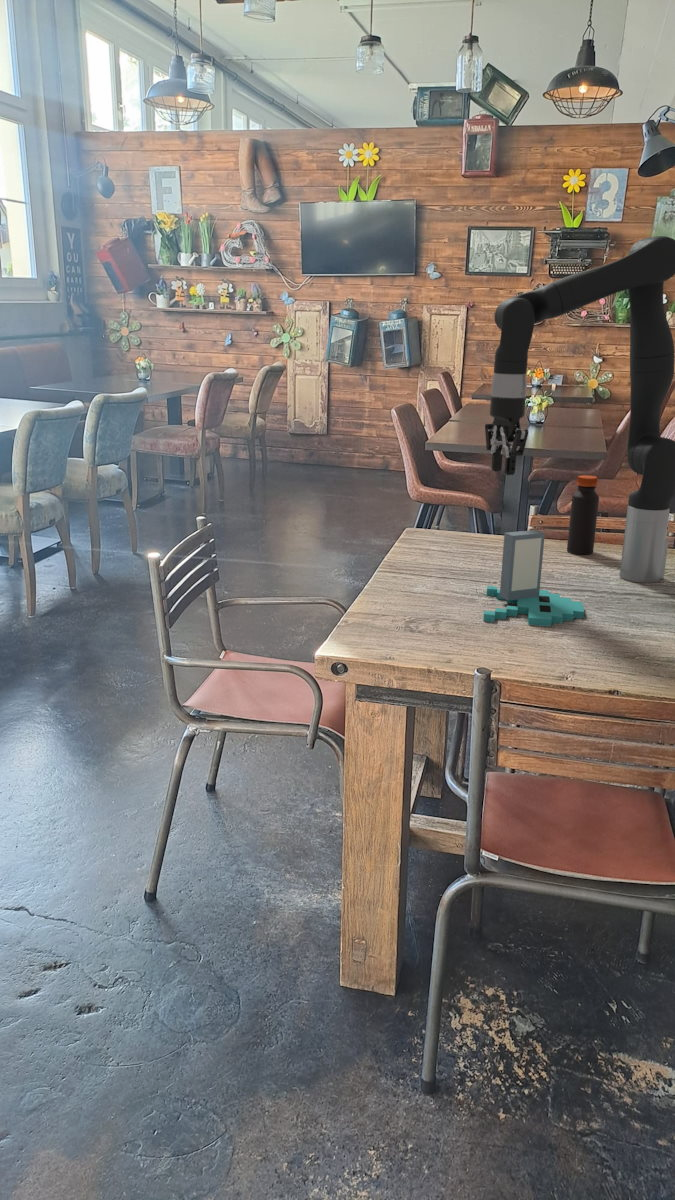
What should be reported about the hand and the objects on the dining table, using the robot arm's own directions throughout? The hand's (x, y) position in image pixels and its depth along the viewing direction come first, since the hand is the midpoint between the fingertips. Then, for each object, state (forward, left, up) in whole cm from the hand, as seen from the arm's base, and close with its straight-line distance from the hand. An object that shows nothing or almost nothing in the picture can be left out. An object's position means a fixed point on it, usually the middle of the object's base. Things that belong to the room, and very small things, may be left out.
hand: (502, 472), depth 192 cm
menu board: (+4, +16, -24) cm, 29 cm away
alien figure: (+4, +21, -26) cm, 34 cm away
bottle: (-36, -15, -26) cm, 47 cm away
